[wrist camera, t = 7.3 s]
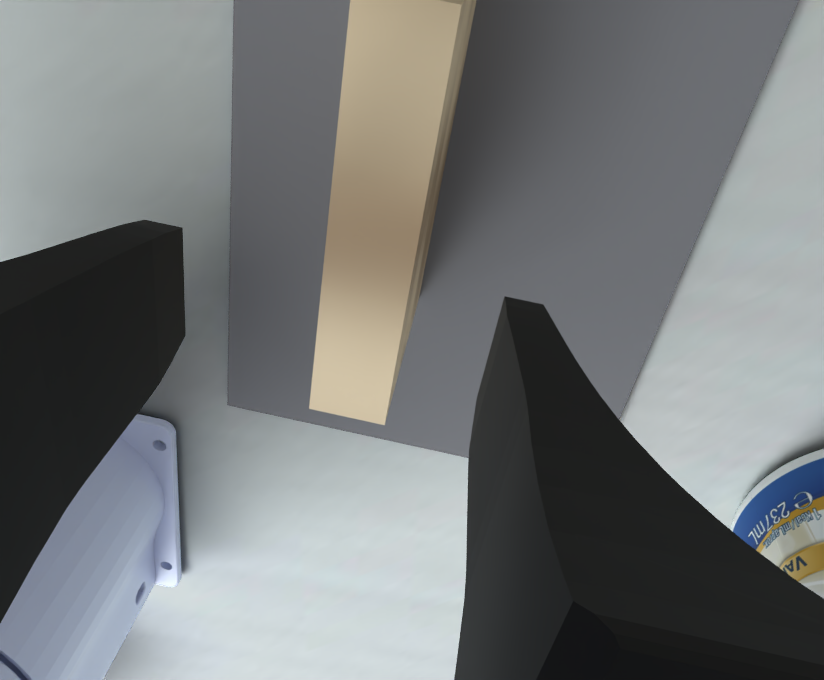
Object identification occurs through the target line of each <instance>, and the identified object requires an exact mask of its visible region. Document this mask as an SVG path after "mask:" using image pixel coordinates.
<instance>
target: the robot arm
mask: <svg viewBox="0 0 824 680" xmlns="http://www.w3.org/2000/svg"><path fill="white" fill-rule="evenodd" d="M184 337H185V308H184V270H183V232H182V228H181V227H176V226H171V225H166V224H162V223H157V222H152V221H148V220H142V221H137V222H132V223H128V224H124V225H120V226H116V227H113V228H110V229H106V230H103V231H100V232H97V233H93V234H90V235H87V236H84V237H81V238H78V239H75V240H72V241H68V242H65V243H62V244H59V245H56V246H53V247H50V248H46V249H43V250H40V251H37V252H34V253H31V254H28V255H24V256H21V257H17V258H14V259H10V260H6V261H3V262H0V680H103V679H104V677H105V675H106V673H107V671H108V670H109V668H110V666H111V664H112V662H113V660H114V658H115V657H116V655H117V653H118V651H119V649H120V647H121V645H122V644H123V642H124V640H125V638H126V636H127V634H128V632H129V631H130V629H131V627H132V625H133V623H134V621H135V619H136V618H137V616H138V614H139V612H140V610H141V608H142V606H143V605H144V603H145V601H146V599H147V597H148V595H149V593H150V592H151V590H152V588H153V586H154V584H157V585H162V586H166V587H175V586H177V585H178V584H179V582H180V580H181V577H182V574H181V548H180V523H179V497H178V472H177V446H176V431H175V428H174V427H173V425H172V424H171V423H169V422H168V421H166V420H163V419H159V418H154V417H150V416H145V415H141V414H137V413H138V412H139V411H140V409H141V408H142V407H143V405H144V404H145V403H146V401H147V400H148V398H149V397H150V396H151V394H152V393H153V392H154V390H155V389H156V387H157V386H158V385H159V383H160V382H161V380H162V378H163V376H164V375H165V373H166V371H167V369H168V367H169V366H170V364H171V362H172V360H173V358H174V356H175V354H176V352H177V350H178V348H179V346H180V345H181V343H182V341H183V339H184ZM159 440H160V441H162V442H163V443H161V442H160V441H159ZM454 680H824V598H822V597H821V596H819V595H817V594H816V593H814V592H813V591H811V590H810V589H808V588H807V587H805V586H804V585H802V584H801V583H799V582H798V581H797V580H795V579H794V578H792V577H791V576H790V575H788V574H787V573H786V572H784V571H783V570H782V569H780V568H779V567H778V566H776V565H775V564H774V563H772V562H771V561H770V560H768V559H767V558H766V557H764V556H763V555H762V554H760V553H759V552H758V551H756V550H755V549H754V548H752V547H751V546H750V545H749V544H747V543H746V542H745V541H743V540H742V539H741V538H740V537H739V536H737V535H736V534H735V533H734V532H732V531H731V530H730V529H729V528H727V527H726V526H725V525H724V524H723V523H721V522H720V521H719V520H718V519H717V518H715V517H714V516H713V515H712V514H711V513H710V512H709V511H708V510H707V509H705V508H704V507H703V506H702V505H701V504H700V503H699V502H698V501H696V500H695V499H694V498H693V497H692V496H691V495H690V494H689V493H688V492H686V491H685V490H684V489H683V488H682V487H681V486H680V485H679V484H678V483H677V482H676V481H675V480H674V479H673V478H672V477H671V476H670V475H669V474H668V473H667V472H666V471H665V470H664V469H663V468H662V467H661V466H660V465H659V464H658V463H657V462H656V461H655V460H654V459H653V458H652V457H651V456H650V455H649V453H648V452H647V451H646V450H645V449H644V448H643V447H642V446H641V445H640V444H639V443H638V442H637V441H636V440H635V438H634V437H633V436H632V435H631V434H630V433H629V431H628V430H627V429H626V428H625V427H624V425H623V424H622V423H621V422H620V421H619V419H618V418H617V417H616V415H615V414H614V413H613V411H612V410H611V409H610V408H609V406H608V405H607V404H606V402H605V401H604V400H603V399H602V397H601V396H600V394H599V393H598V392H597V390H596V389H595V387H594V386H593V385H592V383H591V382H590V380H589V379H588V377H587V376H586V374H585V373H584V371H583V370H582V368H581V367H580V365H579V364H578V362H577V360H576V359H575V357H574V356H573V354H572V352H571V351H570V349H569V347H568V346H567V344H566V342H565V341H564V339H563V337H562V335H561V334H560V332H559V330H558V328H557V327H556V325H555V323H554V321H553V320H552V318H551V316H550V315H549V313H548V311H547V310H546V308H545V306H544V305H543V304H539V303H534V302H530V301H525V300H520V299H515V298H511V297H506V296H504V300H503V304H502V307H501V311H500V315H499V318H498V322H497V326H496V329H495V333H494V337H493V340H492V344H491V348H490V351H489V355H488V359H487V362H486V366H485V370H484V373H483V377H482V381H481V384H480V388H479V392H478V395H477V399H476V406H475V412H474V419H473V426H472V433H471V440H470V447H469V464H468V511H467V563H466V584H465V599H464V608H463V616H462V624H461V632H460V640H459V648H458V656H457V664H456V672H455V679H454Z"/></svg>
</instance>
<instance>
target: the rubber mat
mask: <svg viewBox="0 0 824 680" xmlns="http://www.w3.org/2000/svg"><path fill="white" fill-rule="evenodd" d="M798 1H799V0H477V1H476V6H475V11H474V16H473V21H472V26H471V32H470V37H469V42H468V47H467V52H466V57H465V63H464V68H463V73H462V78H461V83H460V88H459V94H458V99H457V104H456V109H455V114H454V119H453V125H452V130H451V135H450V140H449V145H448V151H447V156H446V161H445V166H444V171H443V176H442V182H441V187H440V192H439V197H438V202H437V207H436V213H435V218H434V223H433V228H432V233H431V238H430V244H429V249H428V254H427V259H426V264H425V269H424V275H423V280H422V285H421V290H420V295H419V300H418V304H417V307H416V311H415V315H414V318H413V322H412V326H411V329H410V333H409V337H408V341H407V344H406V348H405V352H404V355H403V359H402V363H401V366H400V370H399V374H398V378H397V381H396V385H395V389H394V392H393V396H392V400H391V403H390V407H389V411H388V415H387V418H386V422H385V425H381V424H377V423H372V422H368V421H363V420H358V419H354V418H349V417H345V416H340V415H336V414H331V413H326V412H322V411H317V410H313V409H309V404H310V394H311V384H312V374H313V364H314V355H315V345H316V335H317V325H318V315H319V305H320V295H321V285H322V275H323V265H324V256H325V246H326V236H327V226H328V216H329V206H330V196H331V186H332V176H333V166H334V157H335V147H336V137H337V127H338V117H339V107H340V97H341V87H342V77H343V67H344V58H345V48H346V38H347V28H348V18H349V8H350V0H234V16H233V80H232V144H231V209H230V273H229V338H228V402H227V405H229V406H234V407H238V408H243V409H248V410H252V411H257V412H261V413H266V414H270V415H275V416H280V417H284V418H289V419H293V420H298V421H302V422H307V423H311V424H316V425H321V426H325V427H330V428H334V429H339V430H343V431H348V432H352V433H357V434H362V435H366V436H371V437H375V438H380V439H384V440H389V441H394V442H398V443H403V444H407V445H412V446H416V447H421V448H425V449H430V450H435V451H439V452H444V453H448V454H453V455H457V456H462V457H467V458H469V447H470V440H471V433H472V426H473V419H474V412H475V406H476V399H477V395H478V392H479V388H480V384H481V381H482V377H483V373H484V370H485V366H486V362H487V359H488V355H489V351H490V348H491V344H492V340H493V337H494V333H495V329H496V326H497V322H498V318H499V315H500V311H501V307H502V304H503V300H504V296H506V297H511V298H515V299H520V300H525V301H530V302H534V303H539V304H543V305H544V306H545V308H546V310H547V311H548V313H549V315H550V316H551V318H552V320H553V321H554V323H555V325H556V327H557V328H558V330H559V332H560V334H561V335H562V337H563V339H564V341H565V342H566V344H567V346H568V347H569V349H570V351H571V352H572V354H573V356H574V357H575V359H576V360H577V362H578V364H579V365H580V367H581V368H582V370H583V371H584V373H585V374H586V376H587V377H588V379H589V380H590V382H591V383H592V385H593V386H594V387H595V389H596V390H597V392H598V393H599V394H600V396H601V397H602V399H603V400H604V401H605V402H606V404H607V405H608V406H609V408H610V409H611V410H612V411H613V413H614V414H615V415H616V417H617V418H618V419H619V418H620V416H621V414H622V411H623V409H624V407H625V404H626V402H627V400H628V397H629V395H630V393H631V390H632V388H633V386H634V383H635V381H636V379H637V376H638V374H639V372H640V369H641V367H642V365H643V362H644V360H645V358H646V355H647V353H648V351H649V348H650V346H651V344H652V341H653V339H654V337H655V334H656V332H657V330H658V327H659V325H660V323H661V320H662V318H663V316H664V314H665V311H666V309H667V307H668V304H669V302H670V300H671V297H672V295H673V293H674V290H675V288H676V286H677V283H678V281H679V279H680V276H681V274H682V272H683V269H684V267H685V265H686V262H687V260H688V258H689V255H690V253H691V251H692V248H693V246H694V244H695V241H696V239H697V237H698V234H699V232H700V230H701V227H702V225H703V223H704V220H705V218H706V216H707V213H708V211H709V209H710V206H711V204H712V202H713V199H714V197H715V195H716V192H717V190H718V188H719V185H720V183H721V181H722V178H723V176H724V174H725V171H726V169H727V167H728V164H729V162H730V160H731V157H732V155H733V153H734V150H735V148H736V146H737V143H738V141H739V139H740V137H741V134H742V132H743V130H744V127H745V125H746V123H747V120H748V118H749V116H750V113H751V111H752V109H753V106H754V104H755V102H756V99H757V97H758V95H759V92H760V90H761V88H762V85H763V83H764V81H765V78H766V76H767V74H768V71H769V69H770V67H771V64H772V62H773V60H774V57H775V55H776V53H777V50H778V48H779V46H780V43H781V41H782V39H783V36H784V34H785V32H786V29H787V27H788V25H789V22H790V20H791V18H792V15H793V13H794V11H795V8H796V6H797V4H798Z"/></svg>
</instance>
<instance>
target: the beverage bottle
mask: <svg viewBox="0 0 824 680" xmlns="http://www.w3.org/2000/svg"><path fill="white" fill-rule="evenodd" d="M731 531H732V532H734V533H735V534H736V535H737V536H739V537H740V538H741V539H742V540H743V541H745V542H746V543H747V544H749V545H750V546H751V547H752V548H754V549H755V550H756V551H758V552H759V553H760V554H762V555H763V556H764V557H766V558H767V559H768V560H770V561H771V562H772V563H774V564H775V565H776V566H778V567H779V568H780V569H782V570H783V571H784V572H786V573H787V574H788V575H790V576H791V577H792V578H794V579H795V580H797V581H798V582H799V583H801V584H802V585H804V586H805V587H807V588H808V589H810V590H811V591H813V592H814V593H816V594H817V595H819V596H821V597H822V598H824V449H821V450H818V451H815V452H812V453H809V454H806V455H804V456H802V457H799V458H797V459H795V460H793V461H791V462H789V463H787V464H785V465H783V466H782V467H780V468H778V469H777V470H775V471H774V472H772V473H771V474H769V475H768V476H767V477H765V478H764V479H763V480H762V481H761V482H759V483H758V484H757V485H756V486H755V487H754V488H753V489H752V490H751V491H750V493H749V494H748V495H747V496H746V498H745V499H744V500H743V502H742V503H741V505H740V507H739V508H738V510H737V512H736V514H735V517H734V520H733V523H732V526H731Z"/></svg>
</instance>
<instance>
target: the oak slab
mask: <svg viewBox="0 0 824 680" xmlns="http://www.w3.org/2000/svg"><path fill="white" fill-rule="evenodd" d="M476 1H477V0H350V8H349V18H348V28H347V38H346V48H345V58H344V67H343V77H342V87H341V97H340V107H339V117H338V127H337V137H336V147H335V157H334V166H333V176H332V186H331V196H330V206H329V216H328V226H327V236H326V246H325V256H324V265H323V275H322V285H321V295H320V305H319V315H318V325H317V335H316V345H315V355H314V364H313V374H312V384H311V394H310V404H309V409H313V410H317V411H322V412H326V413H331V414H336V415H340V416H345V417H349V418H354V419H358V420H363V421H368V422H372V423H377V424H381V425H385V422H386V418H387V415H388V411H389V407H390V403H391V400H392V396H393V392H394V389H395V385H396V381H397V378H398V374H399V370H400V366H401V363H402V359H403V355H404V352H405V348H406V344H407V341H408V337H409V333H410V329H411V326H412V322H413V318H414V315H415V311H416V307H417V304H418V300H419V295H420V290H421V285H422V280H423V275H424V269H425V264H426V259H427V254H428V249H429V244H430V238H431V233H432V228H433V223H434V218H435V213H436V207H437V202H438V197H439V192H440V187H441V182H442V176H443V171H444V166H445V161H446V156H447V151H448V145H449V140H450V135H451V130H452V125H453V119H454V114H455V109H456V104H457V99H458V94H459V88H460V83H461V78H462V73H463V68H464V63H465V57H466V52H467V47H468V42H469V37H470V32H471V26H472V21H473V16H474V11H475V6H476Z"/></svg>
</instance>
